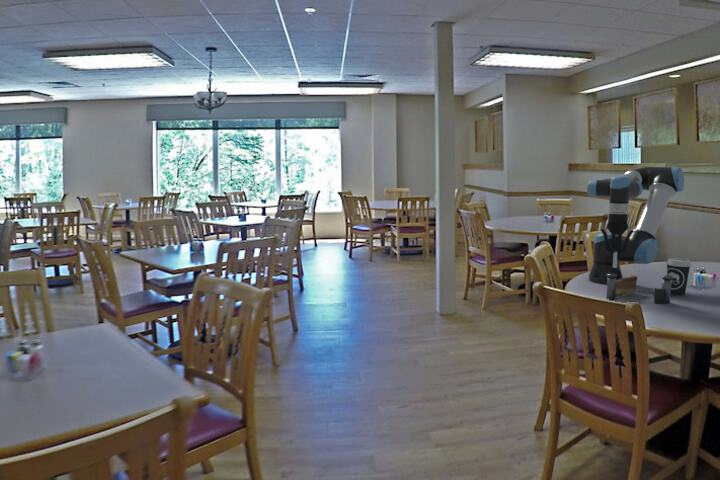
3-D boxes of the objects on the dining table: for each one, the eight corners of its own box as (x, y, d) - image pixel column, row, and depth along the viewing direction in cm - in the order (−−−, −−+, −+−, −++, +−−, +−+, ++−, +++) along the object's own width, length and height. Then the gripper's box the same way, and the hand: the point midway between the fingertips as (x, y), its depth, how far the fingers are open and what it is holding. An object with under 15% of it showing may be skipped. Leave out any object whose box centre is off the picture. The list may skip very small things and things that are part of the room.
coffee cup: (692, 297, 234) (695, 262, 232) (667, 296, 236) (670, 261, 234) (684, 291, 244) (686, 258, 241) (660, 290, 245) (663, 257, 243)
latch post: (651, 300, 230) (653, 274, 228) (669, 301, 228) (671, 275, 226) (654, 303, 225) (656, 277, 224) (672, 304, 224) (674, 278, 222)
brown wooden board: (610, 297, 233) (611, 281, 232) (632, 291, 243) (633, 275, 242) (614, 298, 232) (615, 281, 231) (636, 292, 242) (637, 276, 241)
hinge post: (604, 298, 234) (605, 273, 233) (614, 298, 233) (616, 273, 232) (606, 300, 230) (607, 275, 229) (616, 301, 229) (618, 275, 228)
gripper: (600, 213, 238) (597, 267, 241) (634, 214, 231) (630, 270, 235) (602, 211, 244) (599, 264, 248) (635, 212, 238) (632, 267, 241)
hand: (614, 267), depth 241 cm, fingers closed
